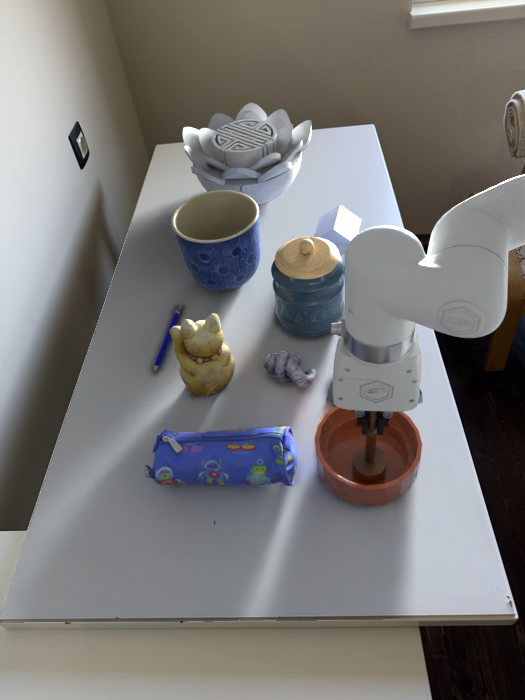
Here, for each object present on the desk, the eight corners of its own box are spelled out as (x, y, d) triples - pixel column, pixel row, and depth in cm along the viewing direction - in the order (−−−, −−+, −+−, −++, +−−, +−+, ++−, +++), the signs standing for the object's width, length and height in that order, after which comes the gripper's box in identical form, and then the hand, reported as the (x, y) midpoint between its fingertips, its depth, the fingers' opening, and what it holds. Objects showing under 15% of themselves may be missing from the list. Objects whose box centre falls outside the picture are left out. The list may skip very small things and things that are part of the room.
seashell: (316, 387, 98) (265, 372, 101) (322, 358, 96) (270, 343, 100) (305, 394, 93) (252, 377, 97) (311, 363, 92) (257, 348, 95)
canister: (286, 345, 103) (278, 273, 90) (269, 300, 112) (260, 227, 99) (353, 329, 104) (355, 254, 91) (331, 285, 113) (330, 211, 100)
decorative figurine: (231, 359, 102) (218, 299, 91) (244, 392, 97) (232, 333, 86) (180, 375, 101) (160, 317, 90) (191, 410, 96) (172, 352, 84)
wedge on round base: (320, 229, 125) (308, 267, 117) (319, 203, 120) (307, 241, 112) (360, 232, 123) (351, 270, 115) (361, 206, 118) (352, 244, 110)
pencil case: (154, 496, 85) (137, 465, 78) (163, 447, 91) (148, 414, 84) (298, 496, 83) (294, 464, 76) (298, 446, 89) (295, 412, 81)
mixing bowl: (438, 466, 84) (444, 444, 79) (366, 529, 79) (367, 510, 74) (365, 405, 93) (367, 382, 88) (296, 458, 87) (293, 437, 83)
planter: (283, 270, 117) (277, 209, 106) (223, 315, 110) (210, 254, 99) (228, 240, 126) (218, 180, 115) (170, 279, 119) (153, 219, 108)
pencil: (178, 308, 113) (177, 304, 112) (182, 308, 113) (181, 304, 112) (152, 372, 102) (151, 369, 101) (157, 373, 102) (156, 369, 101)
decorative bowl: (164, 203, 138) (148, 147, 127) (244, 150, 152) (236, 95, 141) (254, 246, 124) (246, 187, 112) (334, 182, 137) (334, 124, 126)
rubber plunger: (393, 468, 82) (402, 402, 70) (369, 488, 81) (374, 425, 69) (369, 446, 85) (373, 379, 73) (345, 465, 84) (345, 400, 71)
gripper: (305, 357, 60) (312, 447, 74) (456, 360, 58) (434, 453, 71) (309, 308, 65) (315, 401, 79) (449, 309, 63) (429, 405, 76)
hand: (372, 425), depth 75 cm, fingers closed on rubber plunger, 1 cm apart
